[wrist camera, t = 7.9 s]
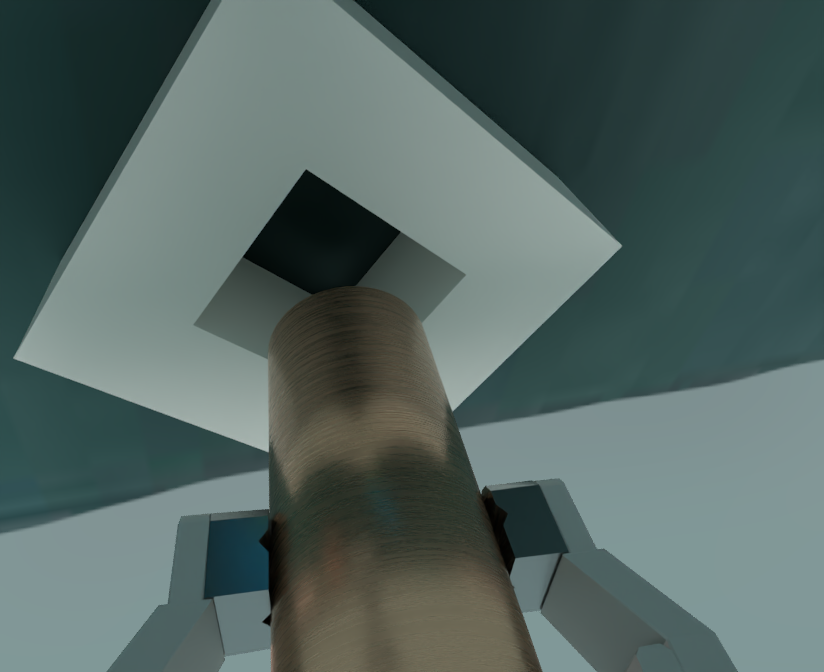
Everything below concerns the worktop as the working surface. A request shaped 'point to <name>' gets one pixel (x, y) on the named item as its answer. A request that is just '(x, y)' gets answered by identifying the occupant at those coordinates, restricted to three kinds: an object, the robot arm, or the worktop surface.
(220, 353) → the fitting block
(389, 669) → the wooden peg
